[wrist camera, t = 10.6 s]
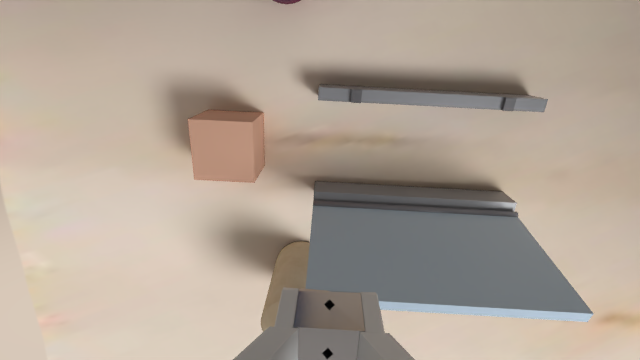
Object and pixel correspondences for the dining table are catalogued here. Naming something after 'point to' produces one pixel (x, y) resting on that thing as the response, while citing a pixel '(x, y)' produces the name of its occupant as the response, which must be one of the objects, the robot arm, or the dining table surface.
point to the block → (227, 145)
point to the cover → (438, 261)
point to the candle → (285, 278)
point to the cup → (286, 1)
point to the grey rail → (422, 194)
